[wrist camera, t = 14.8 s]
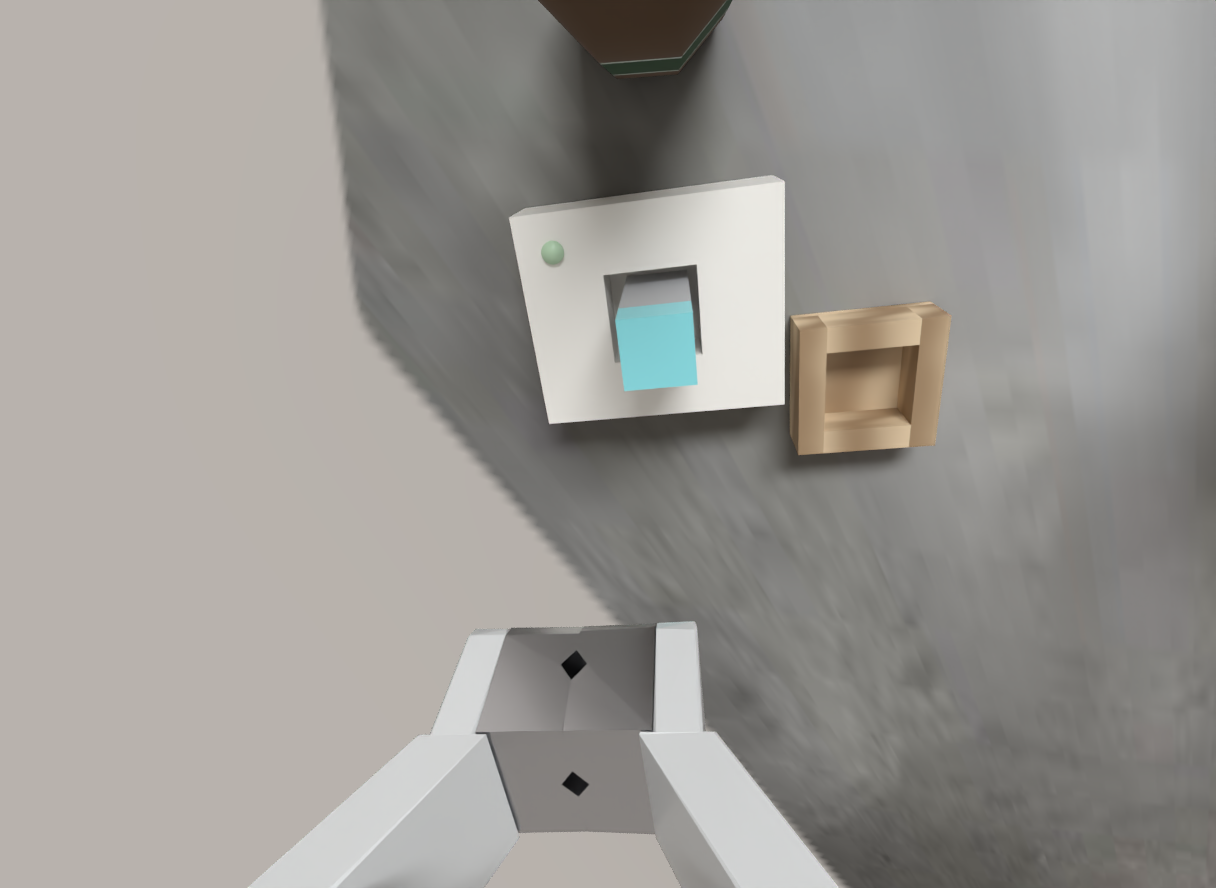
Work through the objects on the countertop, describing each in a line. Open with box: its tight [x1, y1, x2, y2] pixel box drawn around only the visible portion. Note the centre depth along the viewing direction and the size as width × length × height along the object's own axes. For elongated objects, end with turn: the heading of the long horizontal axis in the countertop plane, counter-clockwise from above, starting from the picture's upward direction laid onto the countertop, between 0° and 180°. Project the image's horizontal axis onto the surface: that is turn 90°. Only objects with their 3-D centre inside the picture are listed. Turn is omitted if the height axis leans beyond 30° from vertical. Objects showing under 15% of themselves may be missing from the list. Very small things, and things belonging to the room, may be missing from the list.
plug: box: [615, 270, 698, 391], centre depth 32 cm, size 4×4×9 cm
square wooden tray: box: [790, 302, 951, 455], centre depth 37 cm, size 8×8×3 cm
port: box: [509, 175, 785, 424], centre depth 35 cm, size 14×12×4 cm
